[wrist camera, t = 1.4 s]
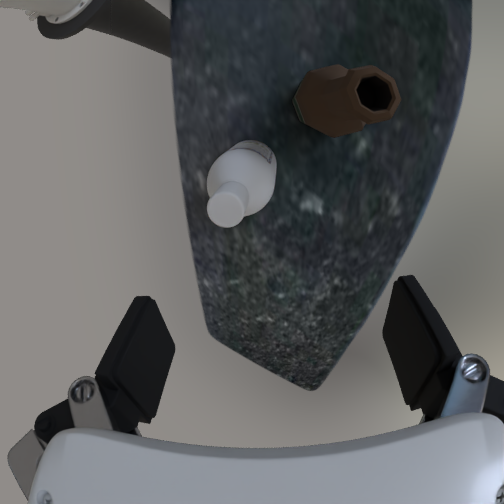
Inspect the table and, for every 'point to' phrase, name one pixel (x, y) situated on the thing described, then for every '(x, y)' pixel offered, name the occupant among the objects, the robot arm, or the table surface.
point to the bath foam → (240, 182)
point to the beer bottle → (345, 99)
